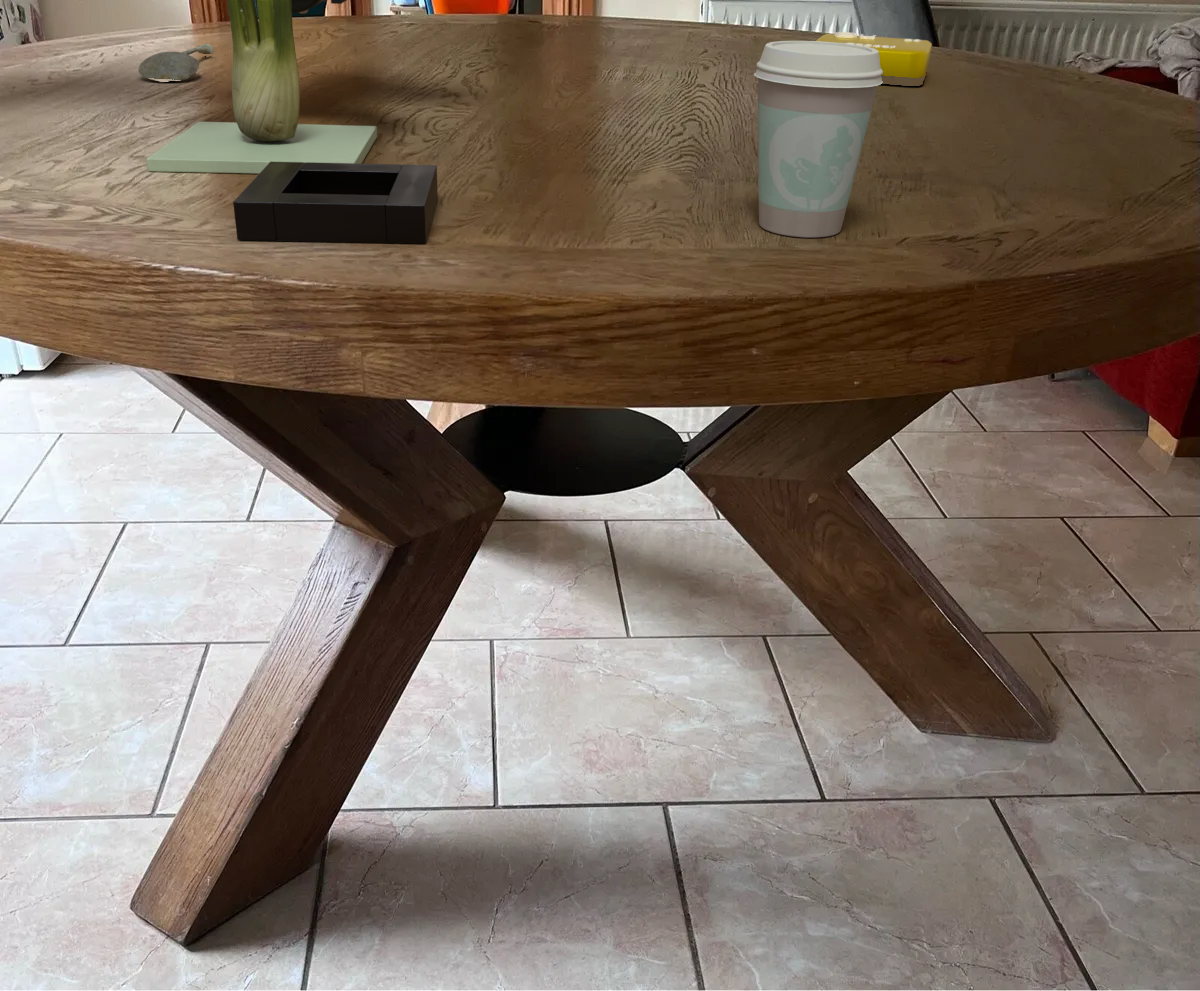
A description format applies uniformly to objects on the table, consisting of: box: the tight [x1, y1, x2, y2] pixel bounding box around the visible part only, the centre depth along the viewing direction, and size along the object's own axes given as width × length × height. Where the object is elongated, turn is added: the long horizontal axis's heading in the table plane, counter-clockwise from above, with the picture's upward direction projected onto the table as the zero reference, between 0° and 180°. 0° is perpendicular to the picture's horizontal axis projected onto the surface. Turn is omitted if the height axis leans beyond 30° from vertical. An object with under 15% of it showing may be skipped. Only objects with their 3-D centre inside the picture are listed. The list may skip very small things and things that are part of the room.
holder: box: [232, 162, 439, 245], centre depth 77 cm, size 12×12×2 cm
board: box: [145, 121, 378, 175], centre depth 95 cm, size 16×16×1 cm
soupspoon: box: [137, 43, 215, 81], centre depth 135 cm, size 22×3×7 cm
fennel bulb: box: [226, 0, 301, 141], centre depth 92 cm, size 6×5×12 cm
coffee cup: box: [753, 40, 883, 239], centre depth 77 cm, size 8×9×12 cm
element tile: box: [815, 31, 933, 78], centre depth 150 cm, size 15×15×5 cm
